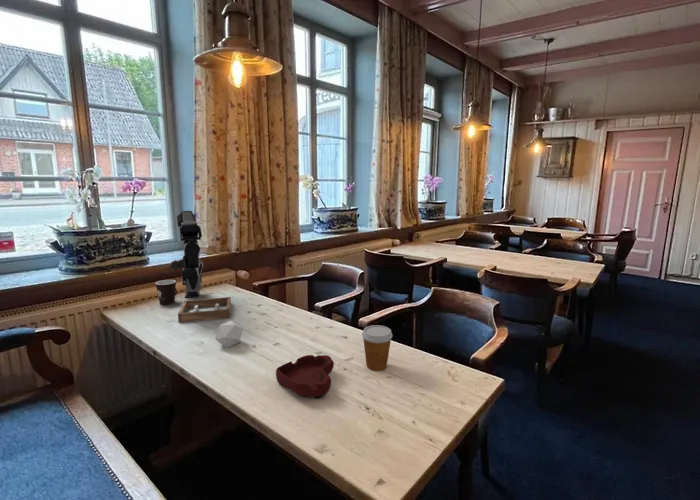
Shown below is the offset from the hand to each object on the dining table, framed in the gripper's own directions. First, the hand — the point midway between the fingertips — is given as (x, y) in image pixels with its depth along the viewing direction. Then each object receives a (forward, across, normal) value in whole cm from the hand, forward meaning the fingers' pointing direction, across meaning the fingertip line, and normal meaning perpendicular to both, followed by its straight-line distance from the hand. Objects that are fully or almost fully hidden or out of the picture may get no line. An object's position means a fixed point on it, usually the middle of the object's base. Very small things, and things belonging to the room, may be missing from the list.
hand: (194, 287), depth 164 cm
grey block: (+1, 0, 0) cm, 1 cm away
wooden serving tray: (+11, +1, +4) cm, 12 cm away
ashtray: (+13, +69, +39) cm, 80 cm away
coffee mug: (+11, -16, -15) cm, 25 cm away
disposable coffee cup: (+13, +64, +62) cm, 90 cm away
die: (+12, +37, +16) cm, 42 cm away
